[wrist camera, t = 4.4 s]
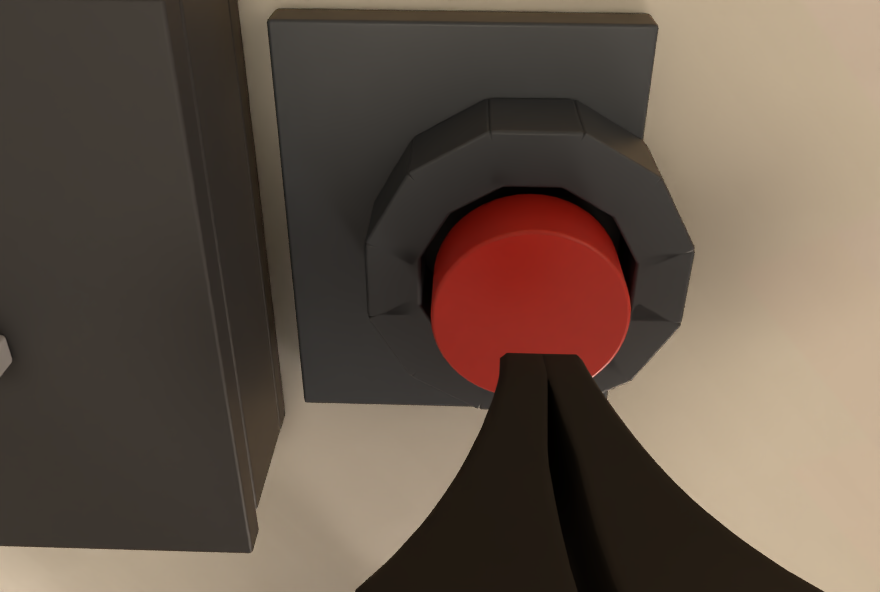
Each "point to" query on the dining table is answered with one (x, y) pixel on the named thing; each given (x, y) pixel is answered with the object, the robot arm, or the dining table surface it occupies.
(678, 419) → the dining table surface
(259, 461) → the dark brown box
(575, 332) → the power button
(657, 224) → the button base
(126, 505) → the lid
